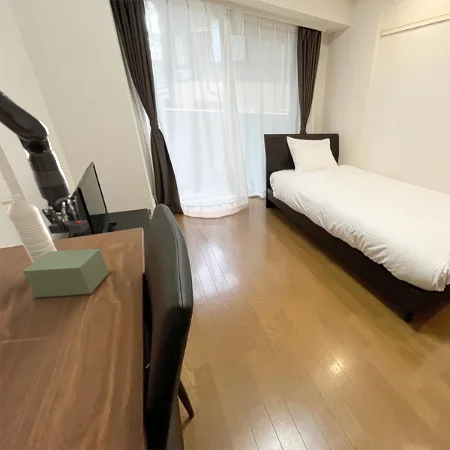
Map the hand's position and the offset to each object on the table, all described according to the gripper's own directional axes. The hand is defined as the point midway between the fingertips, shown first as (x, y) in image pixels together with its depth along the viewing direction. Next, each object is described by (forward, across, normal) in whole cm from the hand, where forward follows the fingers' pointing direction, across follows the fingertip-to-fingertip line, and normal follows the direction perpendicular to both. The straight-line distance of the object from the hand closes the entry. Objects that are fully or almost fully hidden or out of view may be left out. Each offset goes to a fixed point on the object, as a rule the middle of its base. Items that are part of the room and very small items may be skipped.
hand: (70, 228), depth 96 cm
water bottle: (+8, +14, -1) cm, 16 cm away
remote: (+1, 0, 0) cm, 1 cm away
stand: (+8, +23, +12) cm, 27 cm away
